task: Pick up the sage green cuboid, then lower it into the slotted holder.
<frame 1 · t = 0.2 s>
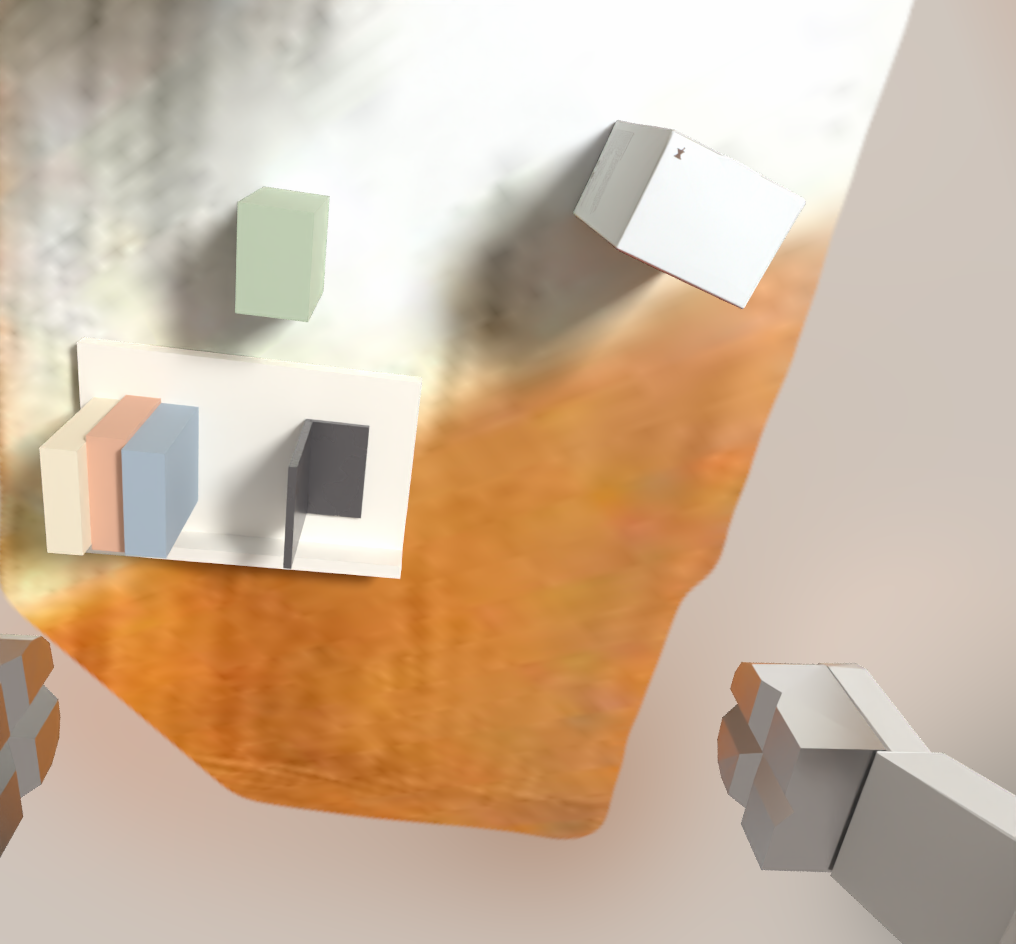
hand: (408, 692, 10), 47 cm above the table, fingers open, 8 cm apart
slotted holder: (254, 453, 58), on the table
small box: (646, 194, 54), on the table
sage green cuboid: (294, 240, 53), on the table
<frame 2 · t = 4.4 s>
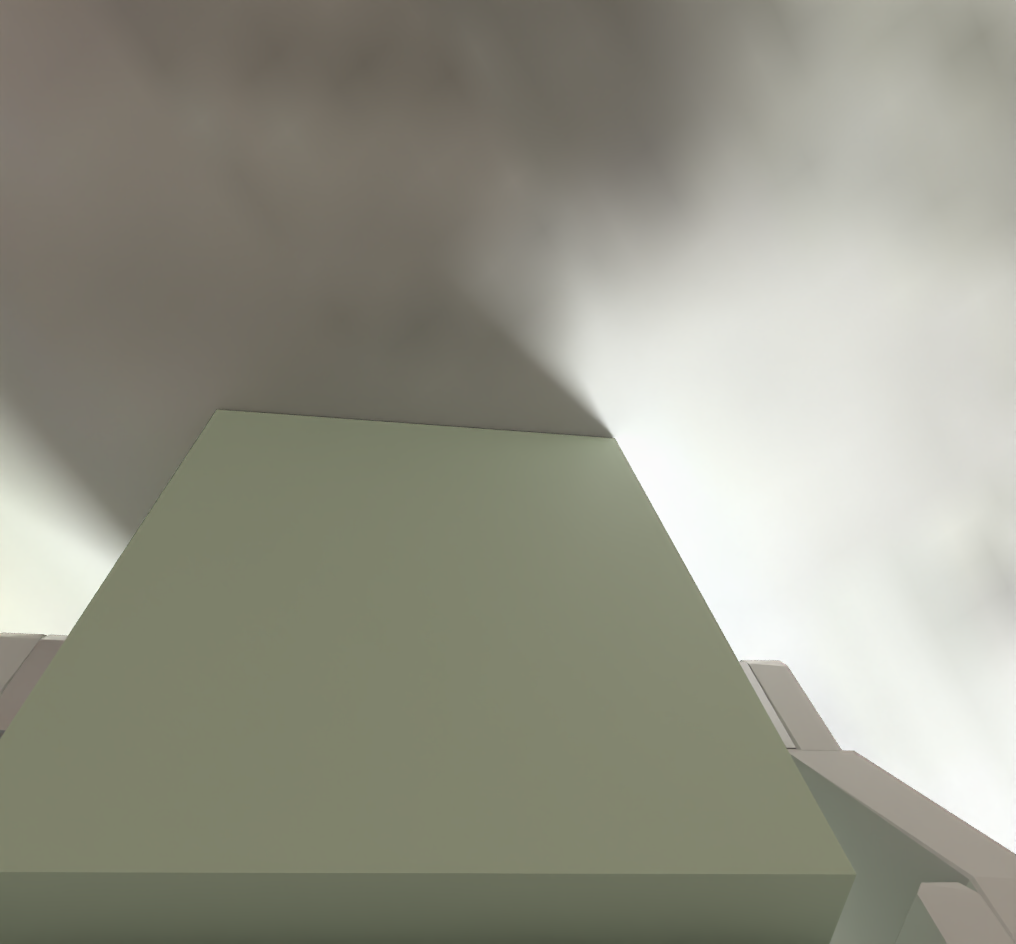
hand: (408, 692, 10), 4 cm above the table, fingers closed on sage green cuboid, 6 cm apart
sage green cuboid: (413, 540, 13), on the table, touching gripper
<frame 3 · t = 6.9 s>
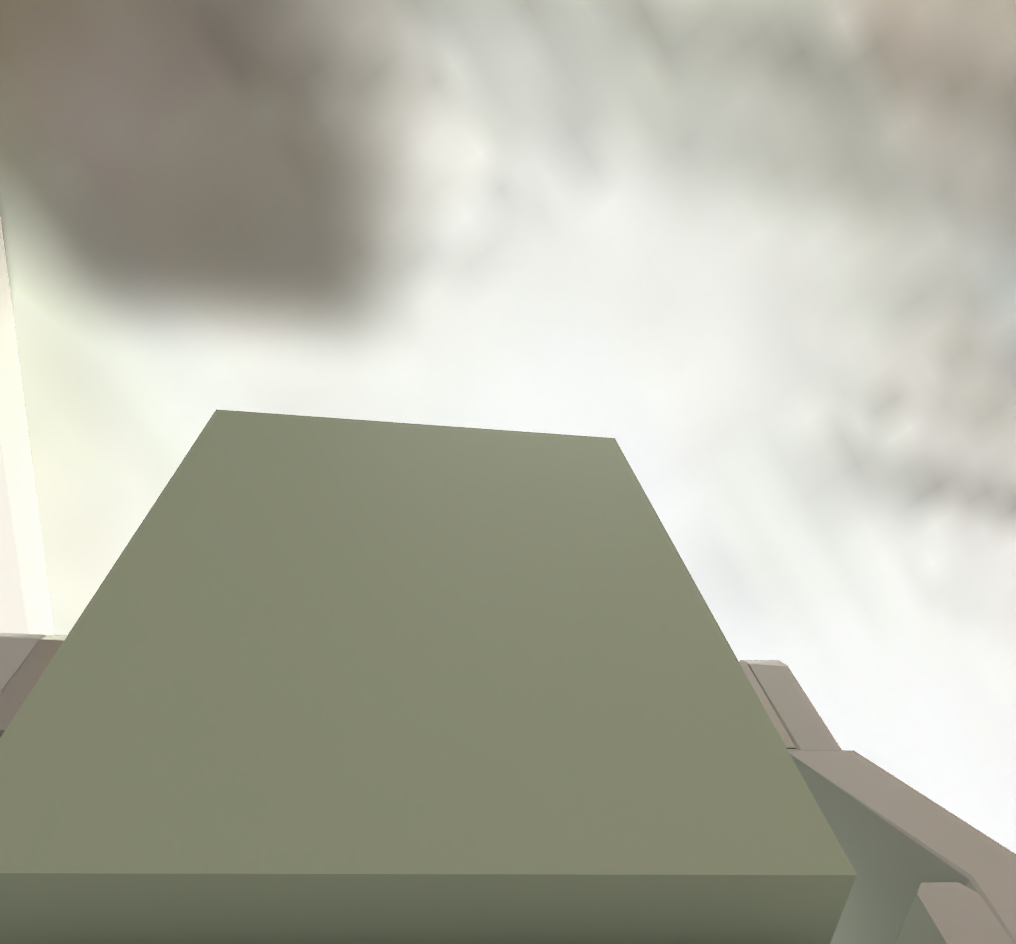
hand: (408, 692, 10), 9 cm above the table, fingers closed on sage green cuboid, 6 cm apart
sage green cuboid: (412, 540, 13), point 5 cm above the table, touching gripper
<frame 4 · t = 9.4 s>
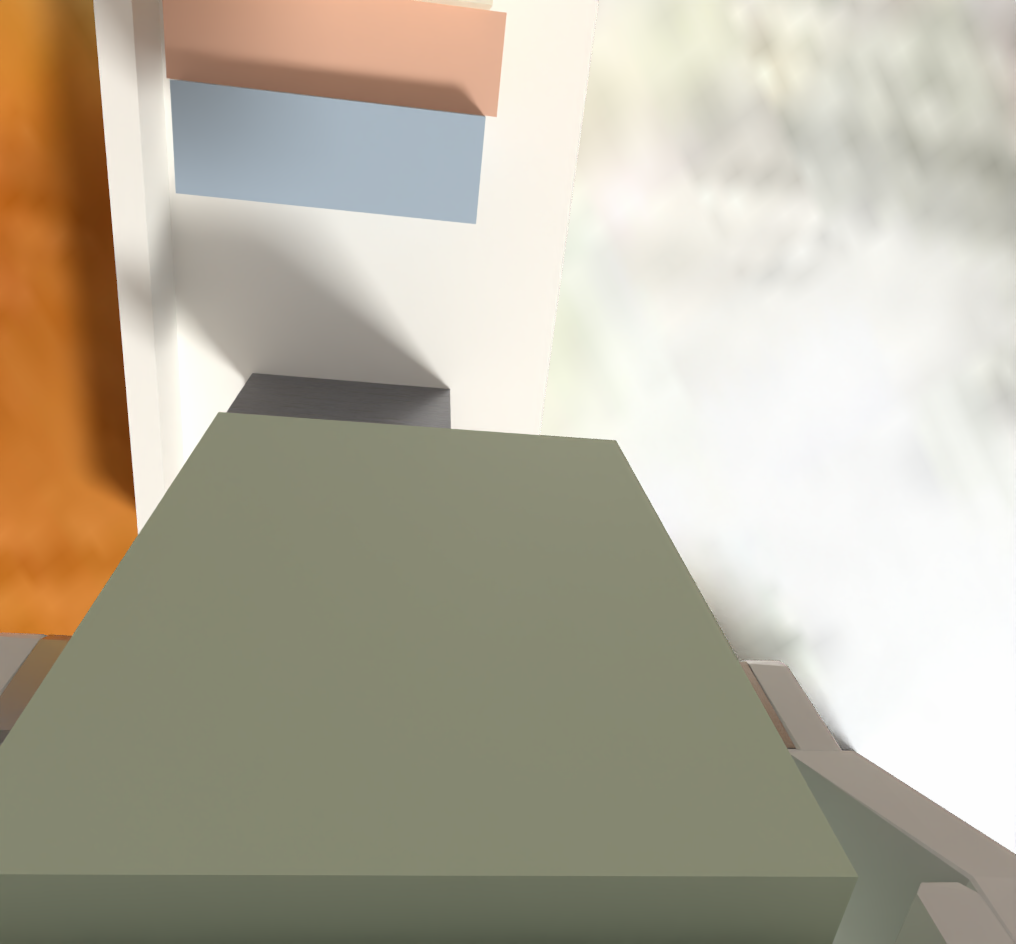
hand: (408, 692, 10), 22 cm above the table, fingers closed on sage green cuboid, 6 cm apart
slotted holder: (358, 276, 29), on the table
sage green cuboid: (414, 542, 13), point 18 cm above the table, touching gripper
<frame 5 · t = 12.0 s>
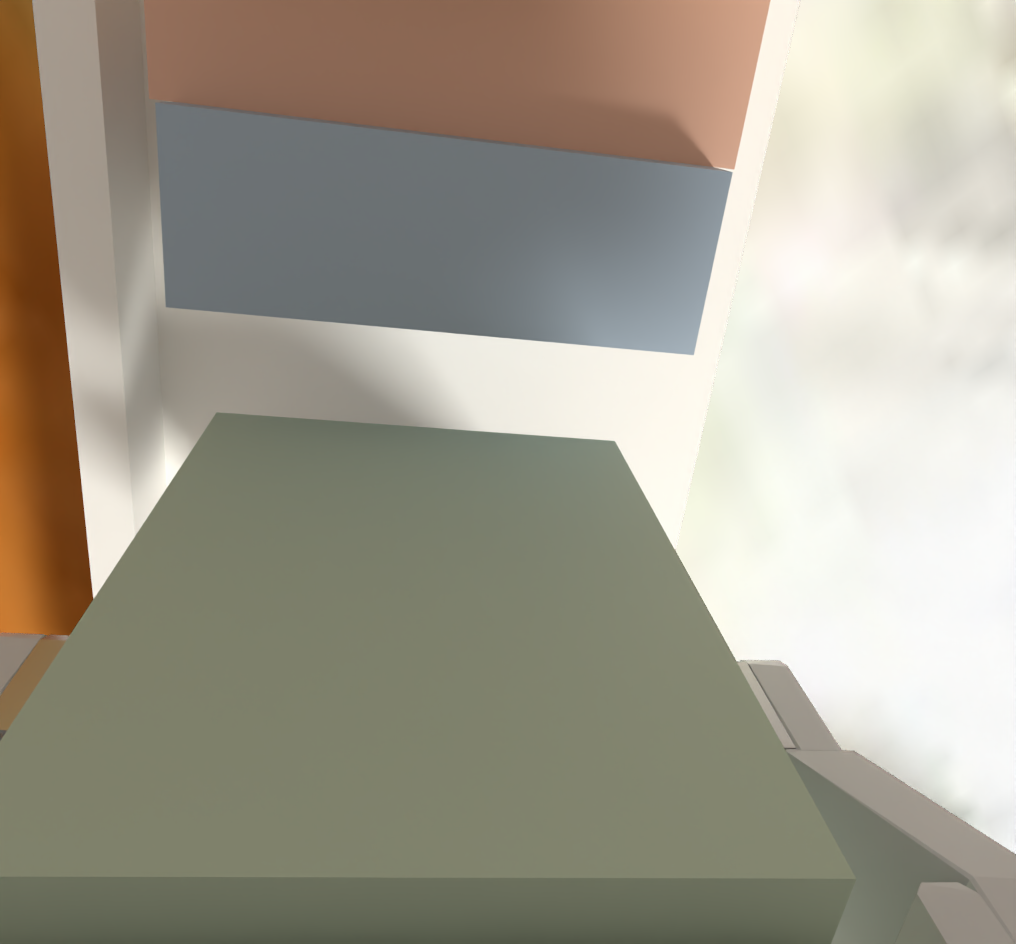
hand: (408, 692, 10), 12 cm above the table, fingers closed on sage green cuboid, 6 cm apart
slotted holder: (424, 371, 21), on the table
sage green cuboid: (413, 542, 13), point 8 cm above the table, touching gripper
when the fingers open (6 cm above the table, at t = 14.3 s): sage green cuboid drops 1 cm, resting on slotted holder.
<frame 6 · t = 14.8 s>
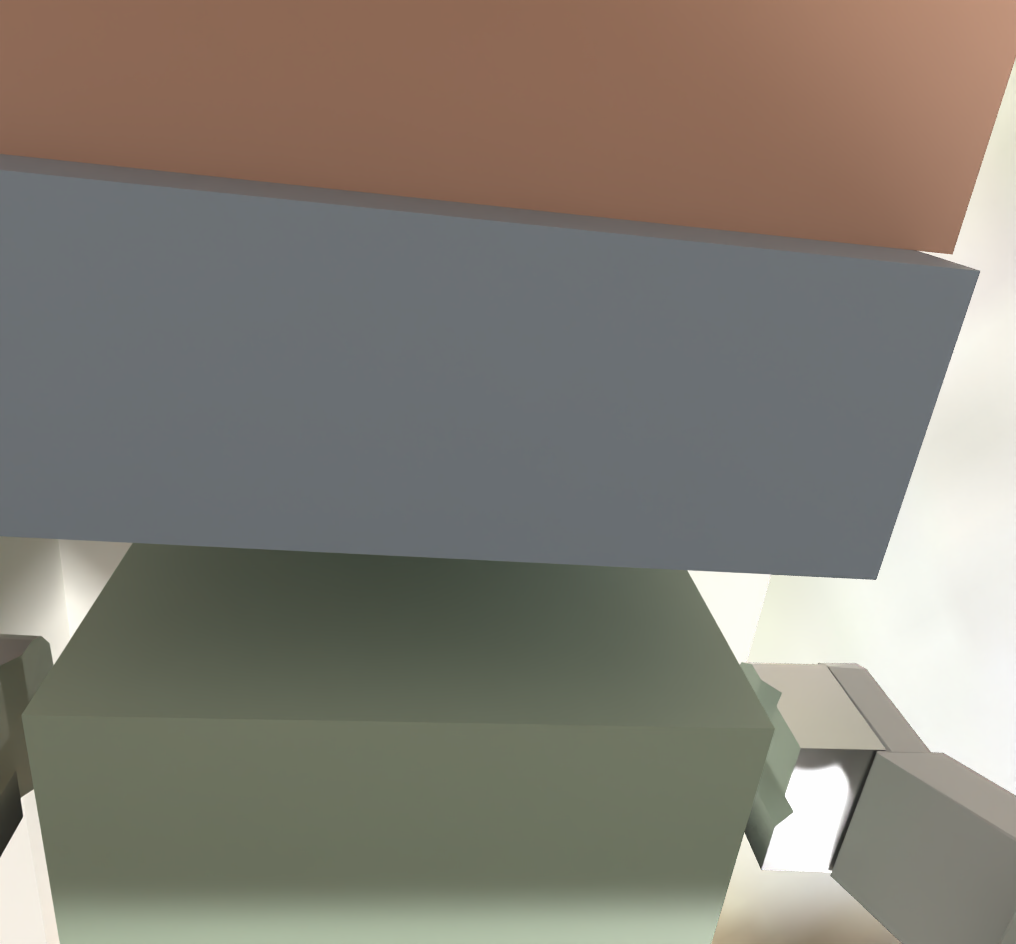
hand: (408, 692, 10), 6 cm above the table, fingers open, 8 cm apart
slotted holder: (411, 472, 16), on the table
sage green cuboid: (414, 501, 15), point 1 cm above the table, touching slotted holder
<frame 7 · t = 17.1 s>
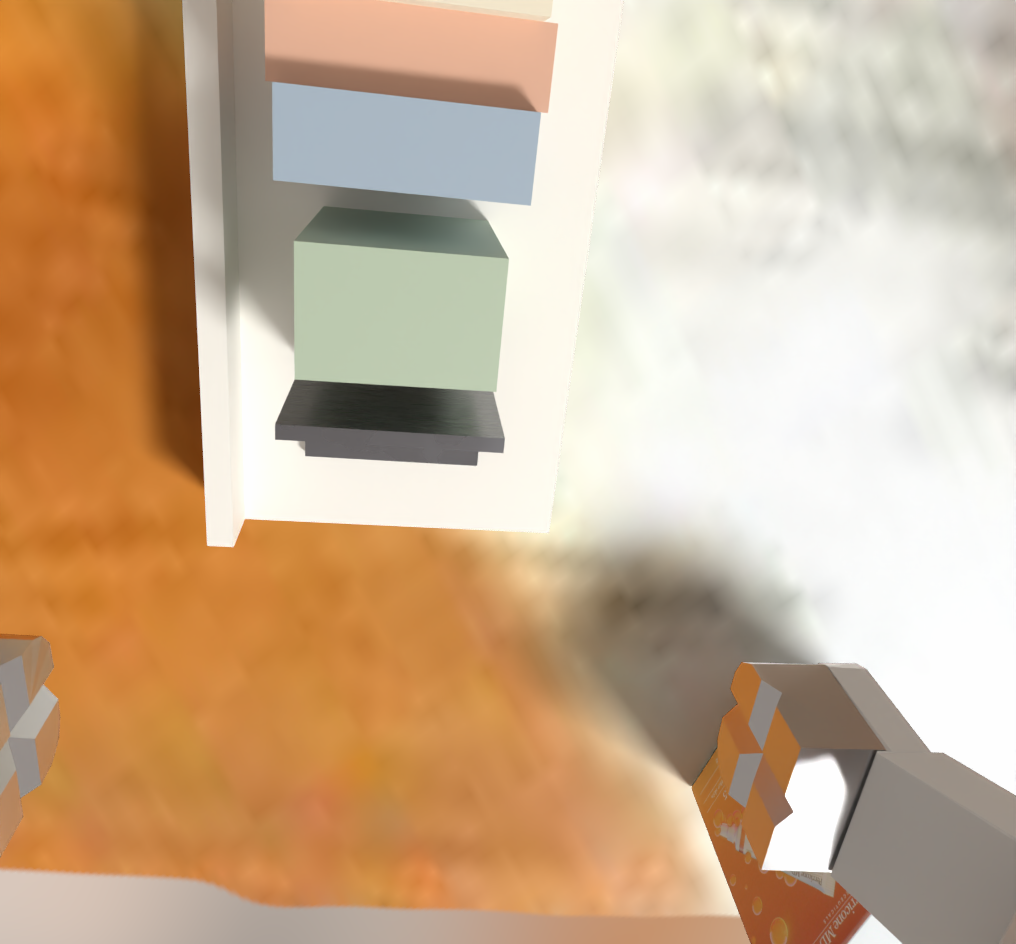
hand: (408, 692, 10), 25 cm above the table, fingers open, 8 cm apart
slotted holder: (403, 261, 32), on the table
small box: (769, 743, 45), on the table
sage green cuboid: (404, 268, 31), point 1 cm above the table, touching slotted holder
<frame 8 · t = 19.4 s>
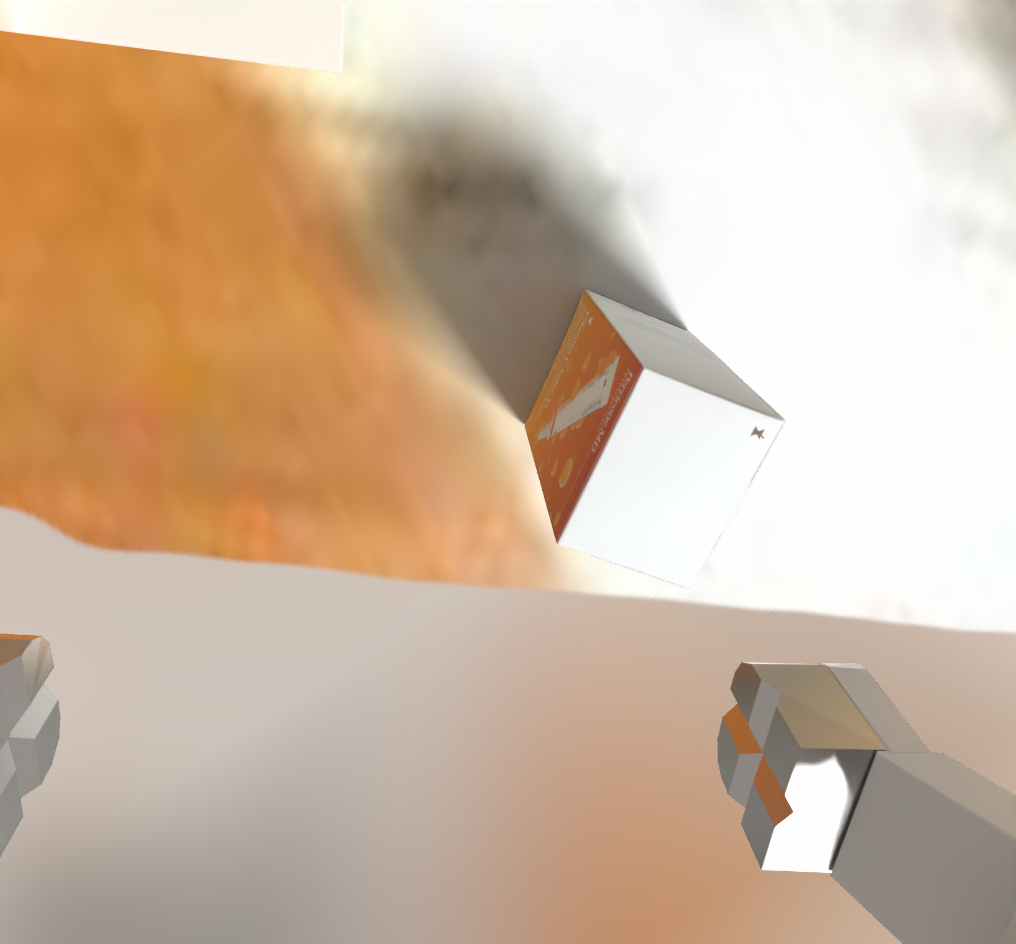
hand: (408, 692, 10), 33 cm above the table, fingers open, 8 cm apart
small box: (603, 378, 44), on the table
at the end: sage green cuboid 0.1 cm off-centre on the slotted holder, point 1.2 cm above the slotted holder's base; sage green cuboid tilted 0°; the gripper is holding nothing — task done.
